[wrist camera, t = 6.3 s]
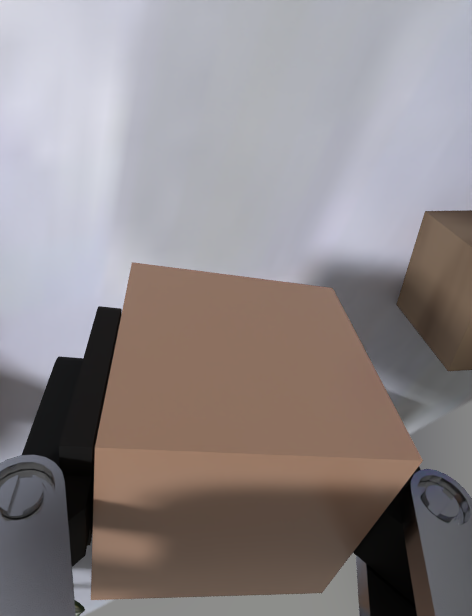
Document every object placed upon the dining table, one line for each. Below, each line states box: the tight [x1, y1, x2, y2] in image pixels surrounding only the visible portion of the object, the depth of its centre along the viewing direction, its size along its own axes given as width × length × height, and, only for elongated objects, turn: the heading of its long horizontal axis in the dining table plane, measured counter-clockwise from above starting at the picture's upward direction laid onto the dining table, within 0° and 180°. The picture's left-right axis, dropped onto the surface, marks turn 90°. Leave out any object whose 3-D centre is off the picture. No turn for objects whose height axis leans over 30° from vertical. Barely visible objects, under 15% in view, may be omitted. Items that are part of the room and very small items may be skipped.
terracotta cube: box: [91, 262, 423, 600], centre depth 10 cm, size 5×5×5 cm
